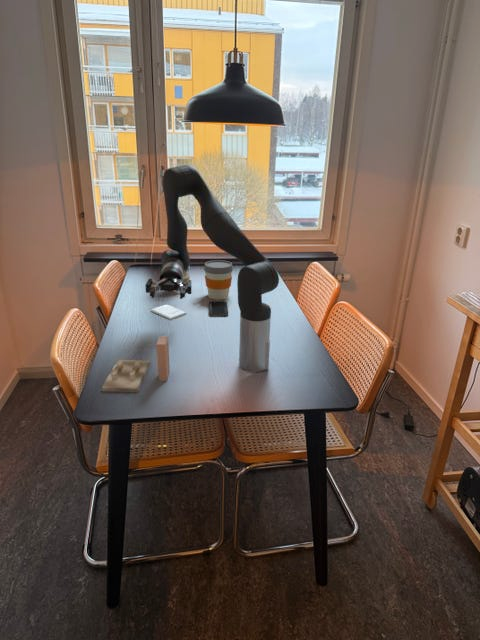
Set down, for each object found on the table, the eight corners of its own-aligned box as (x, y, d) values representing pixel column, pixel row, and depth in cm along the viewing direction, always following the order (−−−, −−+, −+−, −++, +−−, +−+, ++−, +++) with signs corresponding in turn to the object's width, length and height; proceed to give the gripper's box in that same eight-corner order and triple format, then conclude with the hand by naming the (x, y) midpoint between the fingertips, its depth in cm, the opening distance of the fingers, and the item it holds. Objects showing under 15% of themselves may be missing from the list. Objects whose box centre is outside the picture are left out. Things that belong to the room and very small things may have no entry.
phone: (208, 315, 170) (209, 301, 184) (208, 317, 171) (209, 303, 184) (228, 314, 171) (227, 301, 184) (228, 317, 171) (227, 303, 185)
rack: (117, 363, 135) (116, 354, 133) (149, 364, 135) (148, 355, 133) (102, 391, 120) (100, 381, 119) (137, 392, 120) (136, 382, 119)
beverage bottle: (188, 285, 205) (187, 244, 197) (191, 291, 197) (190, 248, 189) (170, 286, 202) (168, 245, 194) (173, 292, 195) (172, 250, 187)
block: (161, 371, 131) (159, 336, 126) (169, 372, 131) (168, 336, 126) (158, 380, 126) (156, 344, 121) (167, 380, 126) (165, 344, 121)
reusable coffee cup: (207, 302, 185) (207, 268, 179) (202, 292, 196) (201, 260, 190) (235, 299, 188) (236, 267, 182) (228, 290, 199) (228, 259, 193)
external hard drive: (167, 307, 180) (186, 315, 173) (151, 312, 174) (170, 321, 167) (166, 303, 179) (186, 311, 172) (151, 309, 174) (170, 317, 166)
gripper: (149, 265, 141) (142, 283, 126) (193, 266, 142) (190, 284, 128) (150, 286, 144) (143, 306, 130) (192, 287, 145) (190, 307, 131)
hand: (167, 295), depth 129 cm, fingers open, 8 cm apart
